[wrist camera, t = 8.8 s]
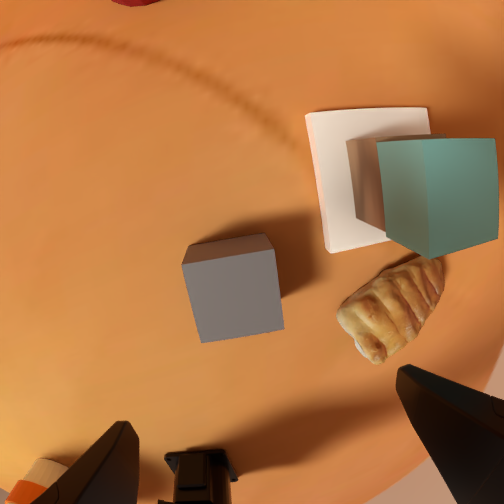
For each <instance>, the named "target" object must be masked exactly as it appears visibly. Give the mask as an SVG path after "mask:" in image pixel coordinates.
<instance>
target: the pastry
mask: <svg viewBox="0 0 504 504" xmlns="http://www.w3.org/2000/svg"><path fill="white" fill-rule="evenodd" d="M444 286H445V280H444V275H443V271H442V264H441V262H440V261H439V260H438V259H436V258H432V259H427V258H425V257H423V256H419V257H417V258H415V259H413V260H410V261H409V262H407V263H403V264H401V265H399V266H397V267H394V268H391V269H386V270H384V271H382V272H381V273H380V275H379V276H378V277H377V278H374V279H373V280H372V281H370V282H369V283H368V284H366V285H365V286H363V287H362V288H360V289H359V290H358V291H356V292H355V293H354V294H353V295H352V296H350V297H349V298H348V299H347V300H346V301H345V302H344V303H343V304H342V305H341V306H340V308H339V309H338V310H337V314H336V318H337V320H338V322H339V323H340V325H341V326H342V327H343V329H344V330H345V331H346V332H347V333H348V334H349V335H351V336H352V337H353V338H354V341H355V346H356V348H357V349H358V350H359V351H360V353H361V354H362V355H363V356H364V357H366V358H368V359H369V360H370V361H371V362H372V363H373V364H376V365H378V364H382V363H384V362H385V360H386V359H387V358H388V357H390V356H391V355H393V354H395V353H396V352H398V351H400V350H401V349H402V348H404V347H405V345H406V344H407V343H409V342H411V341H412V340H414V339H415V338H416V337H417V336H418V334H419V331H420V329H421V327H422V326H423V325H424V323H425V321H426V319H427V318H428V316H429V315H430V314H431V313H432V312H433V311H434V309H435V307H436V305H437V303H438V302H439V300H440V297H441V294H442V292H443V291H444Z"/></svg>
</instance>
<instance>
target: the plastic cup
mask: <svg viewBox="0 0 504 504" xmlns="http://www.w3.org/2000/svg"><path fill="white" fill-rule="evenodd" d="M112 1H113V2H116V3H118V4H122V5H126V6H130V7H132V6H145V5H148V4H151V3H154V2H156V1H159V0H112Z"/></svg>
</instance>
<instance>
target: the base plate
mask: <svg viewBox="0 0 504 504" xmlns="http://www.w3.org/2000/svg"><path fill="white" fill-rule="evenodd" d="M305 120H306V125H307V130H308V136H309V141H310V147H311V153H312V158H313V164H314V171H315V177H316V183H317V190H318V197H319V204H320V211H321V218H322V226H323V234H324V242H325V249H326V250H328V251H329V252H330V253H336V252H341V251H345V250H350V249H354V248H358V247H363V246H367V245H372V244H376V243H381V242H385V241H389V240H391V239H389V238H387V237H386V232H384V231H382V230H380V229H378V228H376V227H374V226H371V225H369V224H367V223H365V222H363V221H361V220H359V219H356V214H355V205H354V196H353V188H352V181H351V173H350V166H349V160H348V153H347V147H346V141H349V140H357V139H365V138H374V137H387V136H402V135H421V134H431V132H430V126H429V119H428V114H427V108H415V107H403V108H366V109H349V110H335V111H324V112H313V113H309V114H307V115H305Z"/></svg>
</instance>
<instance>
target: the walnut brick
mask: <svg viewBox="0 0 504 504" xmlns="http://www.w3.org/2000/svg"><path fill="white" fill-rule="evenodd" d="M440 138H446V134H421V135H402V136H387V137H374V138H365V139H357V140H349V141H346V147H347V153H348V160H349V166H350V173H351V181H352V188H353V196H354V205H355V214H356V219H359V220H361V221H363V222H365V223H367V224H369V225H371V226H374V227H376V228H378V229H380V230H382V231H384V232H386V228H385V214H384V202H383V192H382V183H381V174H380V166H379V158H378V151H377V145H376V142H387V141H401V140H417V139H440Z"/></svg>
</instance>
